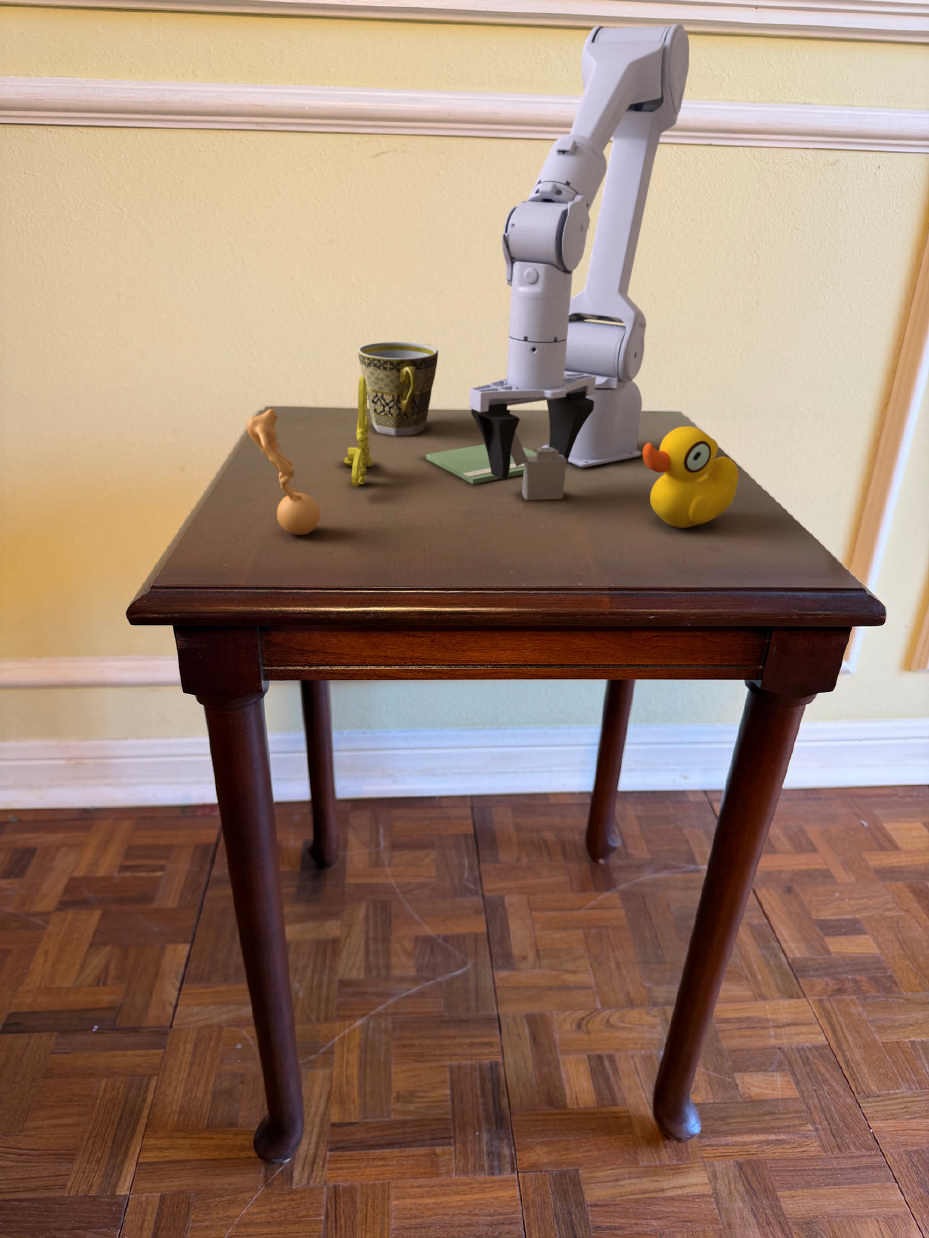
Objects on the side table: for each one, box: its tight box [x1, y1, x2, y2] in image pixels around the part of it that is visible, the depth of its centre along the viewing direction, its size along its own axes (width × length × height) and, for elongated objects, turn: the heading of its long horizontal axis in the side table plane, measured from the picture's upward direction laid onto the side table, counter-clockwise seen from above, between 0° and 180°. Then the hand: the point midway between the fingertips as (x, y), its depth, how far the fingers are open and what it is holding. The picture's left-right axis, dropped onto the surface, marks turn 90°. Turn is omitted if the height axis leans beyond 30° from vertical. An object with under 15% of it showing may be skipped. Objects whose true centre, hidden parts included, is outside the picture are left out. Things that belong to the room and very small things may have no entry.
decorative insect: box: [343, 376, 374, 487], centre depth 97 cm, size 13×3×10 cm
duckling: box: [642, 425, 739, 529], centre depth 86 cm, size 11×5×10 cm, turn 115°
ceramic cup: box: [357, 341, 439, 437], centre depth 111 cm, size 13×10×10 cm
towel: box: [425, 443, 536, 485], centre depth 103 cm, size 12×10×1 cm
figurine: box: [245, 408, 321, 536], centre depth 80 cm, size 8×6×12 cm
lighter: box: [511, 430, 567, 501], centre depth 92 cm, size 7×2×8 cm, turn 101°
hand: (529, 470), depth 93 cm, fingers closed on lighter, 7 cm apart
